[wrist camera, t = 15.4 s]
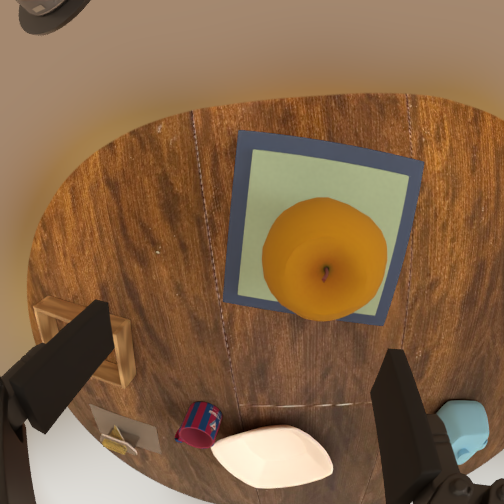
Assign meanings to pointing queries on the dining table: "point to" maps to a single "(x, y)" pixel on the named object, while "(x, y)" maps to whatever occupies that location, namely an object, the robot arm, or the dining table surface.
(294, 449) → the bowl
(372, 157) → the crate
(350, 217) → the apple
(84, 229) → the dining table surface
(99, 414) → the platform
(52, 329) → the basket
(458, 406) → the teapot
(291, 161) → the mat
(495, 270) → the dining table surface
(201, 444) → the mug
